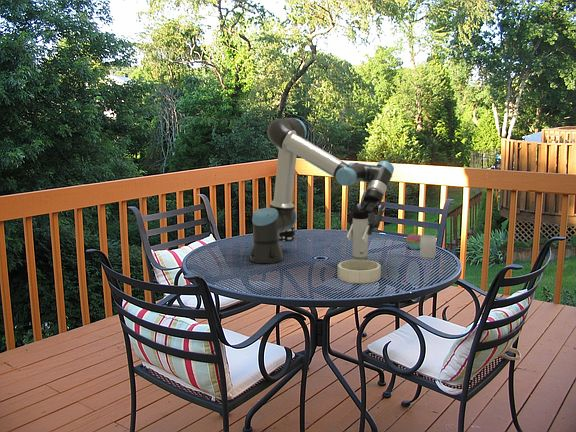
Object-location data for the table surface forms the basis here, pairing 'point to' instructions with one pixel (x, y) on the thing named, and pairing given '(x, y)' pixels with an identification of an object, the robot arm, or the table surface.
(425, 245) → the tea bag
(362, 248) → the travel mug
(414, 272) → the table surface
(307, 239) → the table surface
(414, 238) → the cupcake
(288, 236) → the white-spotted black cylinder
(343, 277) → the bowl
